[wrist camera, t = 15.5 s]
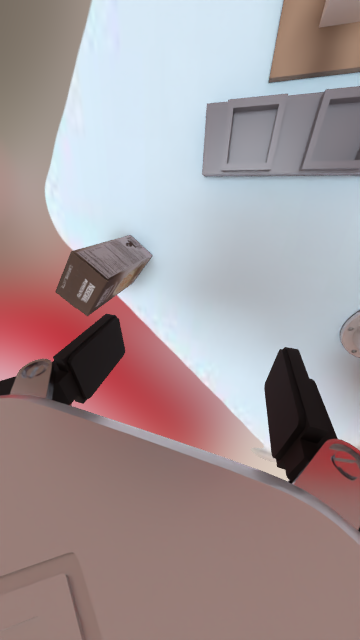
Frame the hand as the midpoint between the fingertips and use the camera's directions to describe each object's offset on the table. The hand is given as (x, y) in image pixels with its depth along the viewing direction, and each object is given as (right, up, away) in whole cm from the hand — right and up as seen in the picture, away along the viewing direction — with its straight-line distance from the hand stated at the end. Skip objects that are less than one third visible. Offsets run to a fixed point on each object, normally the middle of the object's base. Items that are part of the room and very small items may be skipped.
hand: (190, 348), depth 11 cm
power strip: (+14, +26, +14) cm, 32 cm away
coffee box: (-11, +15, +30) cm, 35 cm away
